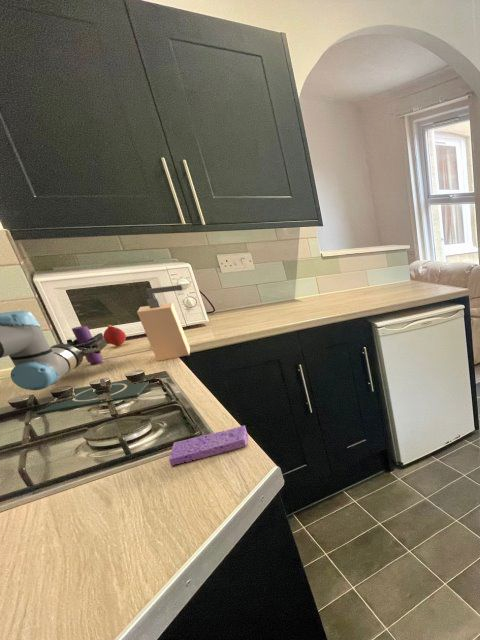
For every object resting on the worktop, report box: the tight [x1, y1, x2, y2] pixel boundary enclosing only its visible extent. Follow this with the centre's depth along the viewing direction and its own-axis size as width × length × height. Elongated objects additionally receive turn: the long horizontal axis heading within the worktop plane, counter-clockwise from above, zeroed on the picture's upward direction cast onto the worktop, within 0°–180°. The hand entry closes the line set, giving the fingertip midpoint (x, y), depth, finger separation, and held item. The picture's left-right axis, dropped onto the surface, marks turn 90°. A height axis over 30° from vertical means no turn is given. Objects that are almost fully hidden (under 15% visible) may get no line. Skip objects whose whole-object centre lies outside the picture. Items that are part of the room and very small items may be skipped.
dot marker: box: [71, 325, 103, 366], centre depth 133 cm, size 4×4×12 cm
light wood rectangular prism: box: [136, 284, 191, 362], centre depth 137 cm, size 13×9×22 cm
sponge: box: [168, 425, 248, 466], centre depth 83 cm, size 7×13×2 cm, turn 119°
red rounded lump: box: [103, 324, 127, 347], centre depth 151 cm, size 6×6×8 cm
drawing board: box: [36, 375, 155, 415], centre depth 112 cm, size 20×15×1 cm
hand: (93, 338), depth 138 cm, fingers closed on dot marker, 4 cm apart
